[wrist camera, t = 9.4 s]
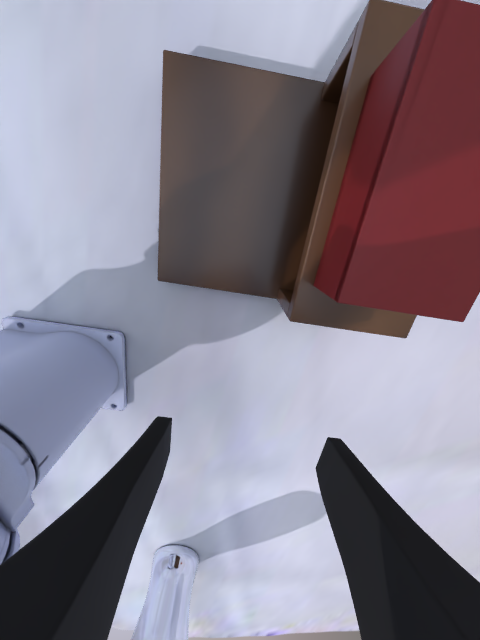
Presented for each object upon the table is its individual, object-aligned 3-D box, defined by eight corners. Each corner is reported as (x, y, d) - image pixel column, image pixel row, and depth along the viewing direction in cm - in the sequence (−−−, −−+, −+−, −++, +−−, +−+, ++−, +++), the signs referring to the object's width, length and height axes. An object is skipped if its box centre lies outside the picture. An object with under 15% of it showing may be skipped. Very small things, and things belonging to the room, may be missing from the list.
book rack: (164, 277, 17) (126, 297, 11) (171, 68, 13) (116, -63, 7) (354, 306, 18) (407, 339, 12) (420, 118, 13) (547, 35, 8)
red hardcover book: (312, 285, 11) (337, 303, 8) (370, 75, 8) (436, -7, 5) (408, 301, 11) (463, 322, 9) (495, 101, 9) (620, 35, 6)
